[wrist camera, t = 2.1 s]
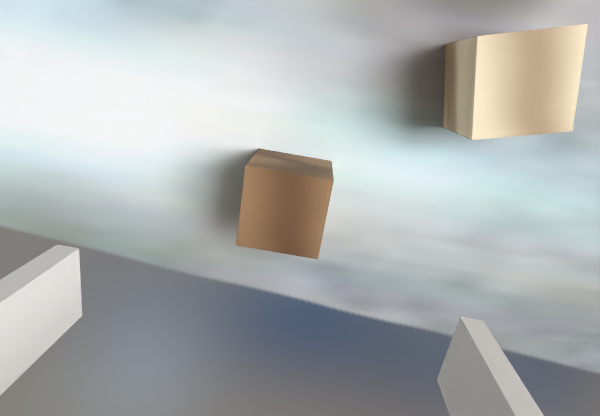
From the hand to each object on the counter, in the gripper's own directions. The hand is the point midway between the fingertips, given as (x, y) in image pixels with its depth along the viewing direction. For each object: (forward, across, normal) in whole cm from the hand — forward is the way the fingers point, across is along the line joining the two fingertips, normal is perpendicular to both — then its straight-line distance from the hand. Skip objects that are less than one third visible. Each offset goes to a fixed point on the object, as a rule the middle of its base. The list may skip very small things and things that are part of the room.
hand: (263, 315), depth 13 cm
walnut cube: (+14, 0, 0) cm, 14 cm away
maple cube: (+14, +10, +9) cm, 20 cm away
